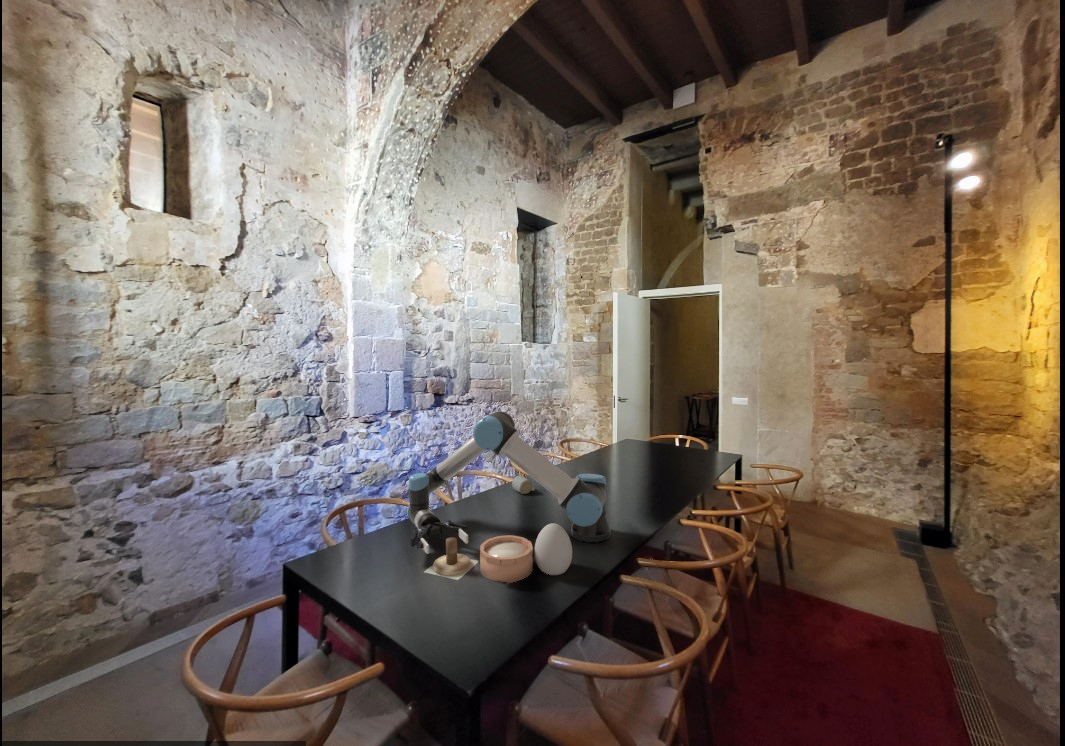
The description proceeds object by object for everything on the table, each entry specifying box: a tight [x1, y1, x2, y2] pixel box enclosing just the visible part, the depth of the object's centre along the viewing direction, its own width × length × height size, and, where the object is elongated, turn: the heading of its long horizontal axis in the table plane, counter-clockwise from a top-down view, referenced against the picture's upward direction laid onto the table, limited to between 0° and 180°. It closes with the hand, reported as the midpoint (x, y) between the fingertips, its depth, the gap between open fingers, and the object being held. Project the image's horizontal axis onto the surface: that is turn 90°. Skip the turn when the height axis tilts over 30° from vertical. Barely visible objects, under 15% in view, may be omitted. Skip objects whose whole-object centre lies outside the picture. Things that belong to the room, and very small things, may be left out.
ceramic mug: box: [511, 474, 536, 495], centre depth 220 cm, size 11×8×8 cm
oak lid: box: [432, 536, 471, 576], centre depth 145 cm, size 12×12×9 cm
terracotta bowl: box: [479, 534, 534, 584], centre depth 144 cm, size 17×17×8 cm
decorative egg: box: [533, 522, 573, 576], centre depth 143 cm, size 12×12×15 cm
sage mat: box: [423, 558, 480, 581], centre depth 145 cm, size 13×13×1 cm
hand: (448, 544), depth 146 cm, fingers open, 13 cm apart
